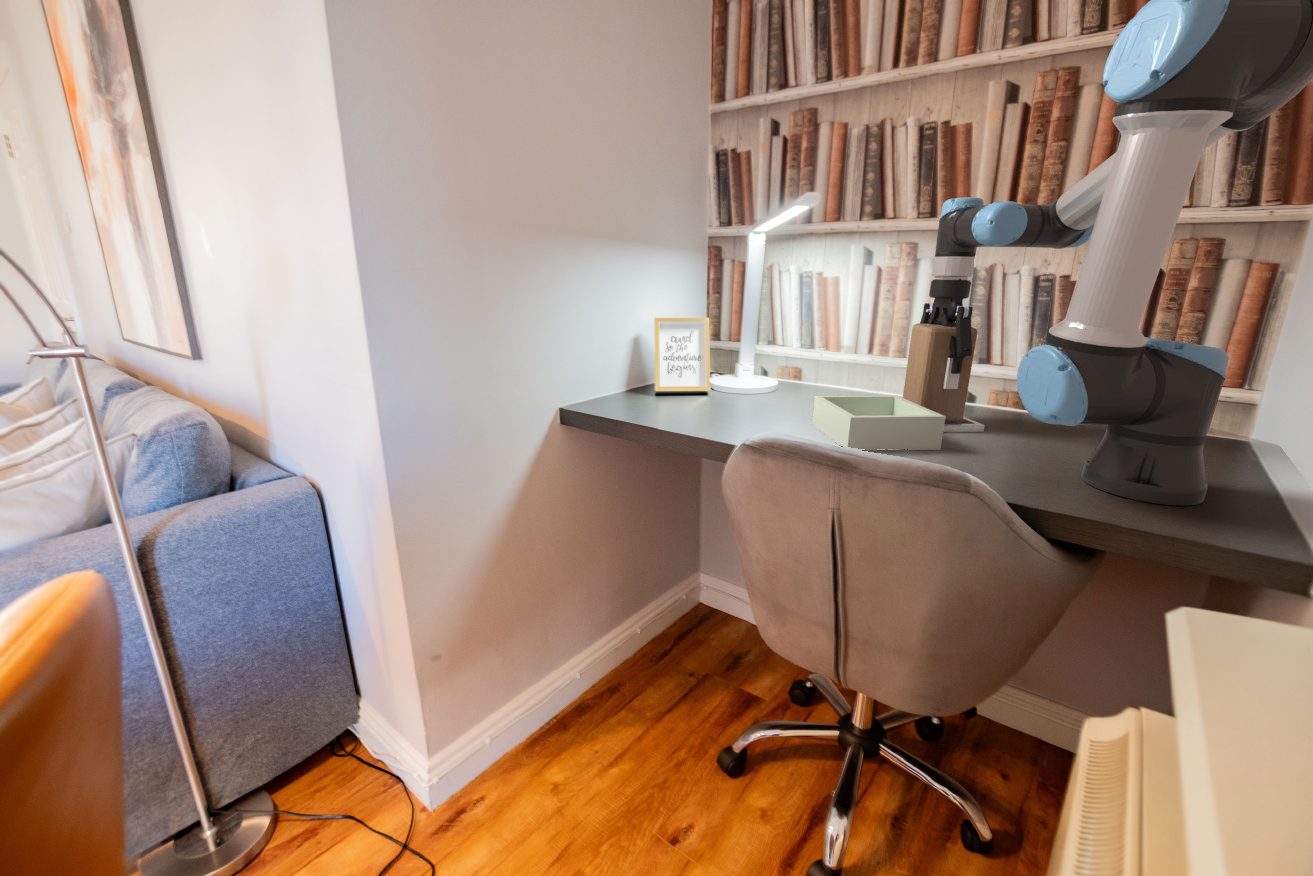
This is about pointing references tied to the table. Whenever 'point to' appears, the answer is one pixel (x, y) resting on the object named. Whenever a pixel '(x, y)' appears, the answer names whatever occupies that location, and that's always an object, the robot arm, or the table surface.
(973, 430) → the socket frame
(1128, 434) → the robot arm
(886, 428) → the bin
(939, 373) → the block
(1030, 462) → the table surface
